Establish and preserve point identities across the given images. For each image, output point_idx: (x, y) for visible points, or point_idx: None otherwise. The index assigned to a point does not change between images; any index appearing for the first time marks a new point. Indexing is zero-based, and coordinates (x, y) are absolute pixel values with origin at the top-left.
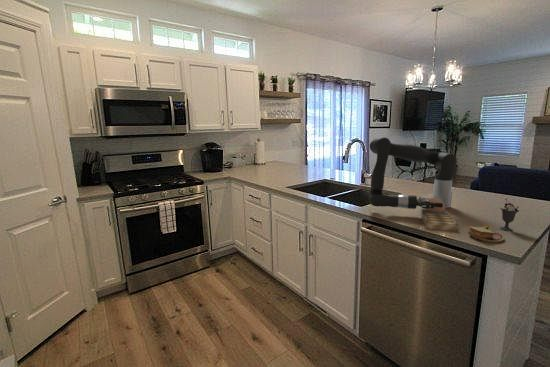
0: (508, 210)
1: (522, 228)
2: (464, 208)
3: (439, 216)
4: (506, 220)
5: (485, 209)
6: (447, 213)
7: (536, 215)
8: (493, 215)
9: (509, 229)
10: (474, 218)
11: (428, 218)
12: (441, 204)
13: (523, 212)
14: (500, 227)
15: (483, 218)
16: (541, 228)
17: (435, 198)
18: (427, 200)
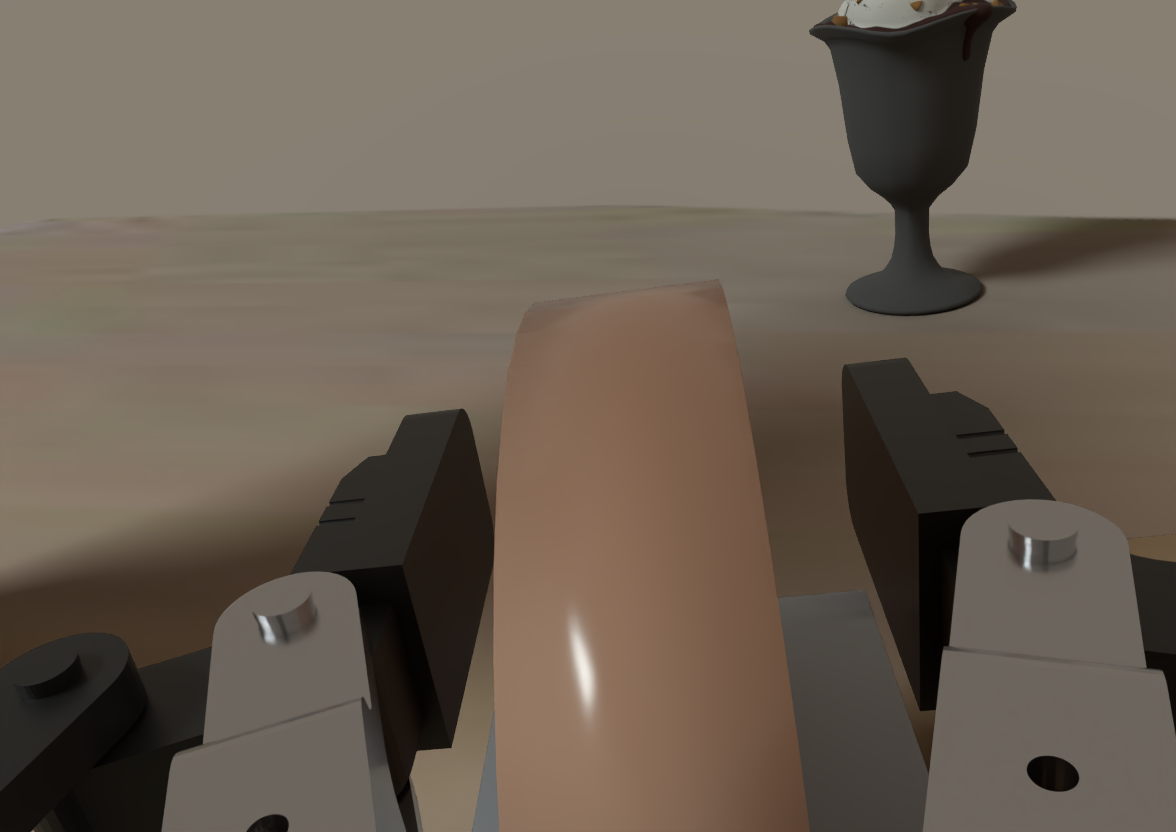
0: (987, 2)
1: (794, 247)
2: (11, 498)
3: None
4: (966, 161)
5: (131, 374)
6: (824, 594)
7: (366, 226)
8: (379, 341)
9: (943, 268)
10: None
11: None
12: (961, 396)
13: (280, 253)
14: (890, 305)
15: None
16: (727, 209)
17: (667, 315)
18: (632, 778)
